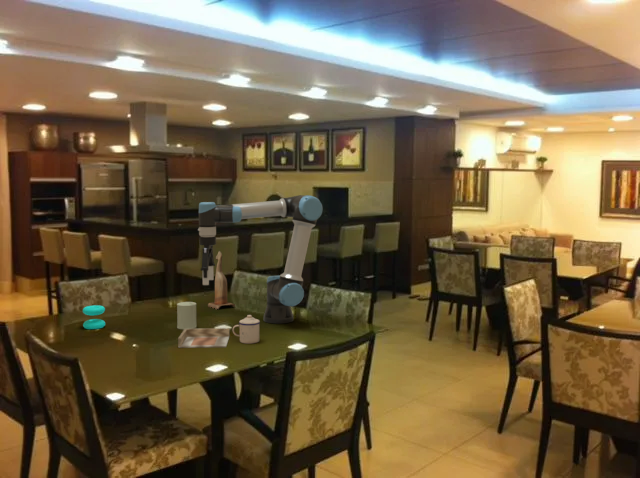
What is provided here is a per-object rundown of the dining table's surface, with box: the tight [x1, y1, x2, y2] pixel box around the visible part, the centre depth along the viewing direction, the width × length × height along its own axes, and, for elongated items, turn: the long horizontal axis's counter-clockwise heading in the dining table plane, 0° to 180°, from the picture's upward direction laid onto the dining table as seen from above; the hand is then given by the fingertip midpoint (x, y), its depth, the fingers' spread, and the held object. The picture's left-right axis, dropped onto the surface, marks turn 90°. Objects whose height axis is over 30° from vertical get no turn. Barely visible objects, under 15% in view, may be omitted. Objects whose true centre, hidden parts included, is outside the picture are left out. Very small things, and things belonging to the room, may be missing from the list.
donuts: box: [82, 304, 106, 330], centre depth 289 cm, size 10×10×10 cm
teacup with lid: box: [231, 314, 261, 345], centre depth 266 cm, size 12×9×12 cm
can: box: [176, 301, 197, 330], centre depth 291 cm, size 9×9×12 cm
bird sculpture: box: [207, 250, 236, 310], centre depth 338 cm, size 11×12×32 cm
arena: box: [177, 327, 230, 349], centre depth 264 cm, size 20×17×4 cm
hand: (208, 282), depth 277 cm, fingers open, 13 cm apart
